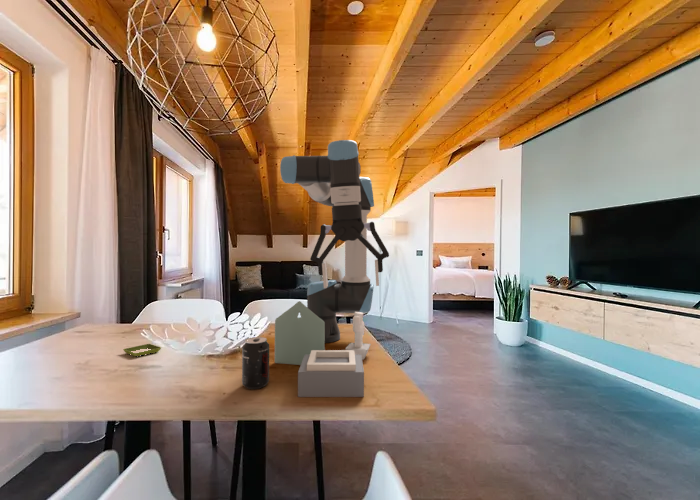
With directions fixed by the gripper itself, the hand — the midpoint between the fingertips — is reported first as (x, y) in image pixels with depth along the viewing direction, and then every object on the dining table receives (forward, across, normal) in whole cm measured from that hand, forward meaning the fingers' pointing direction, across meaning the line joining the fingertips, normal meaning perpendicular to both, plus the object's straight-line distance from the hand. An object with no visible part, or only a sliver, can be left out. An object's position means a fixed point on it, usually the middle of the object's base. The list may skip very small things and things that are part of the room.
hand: (351, 285), depth 89 cm
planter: (+28, -18, +15) cm, 37 cm away
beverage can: (+24, -26, -5) cm, 36 cm away
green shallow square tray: (+25, -75, +18) cm, 81 cm away
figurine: (+30, -1, +21) cm, 36 cm away
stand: (+26, -7, -4) cm, 27 cm away
